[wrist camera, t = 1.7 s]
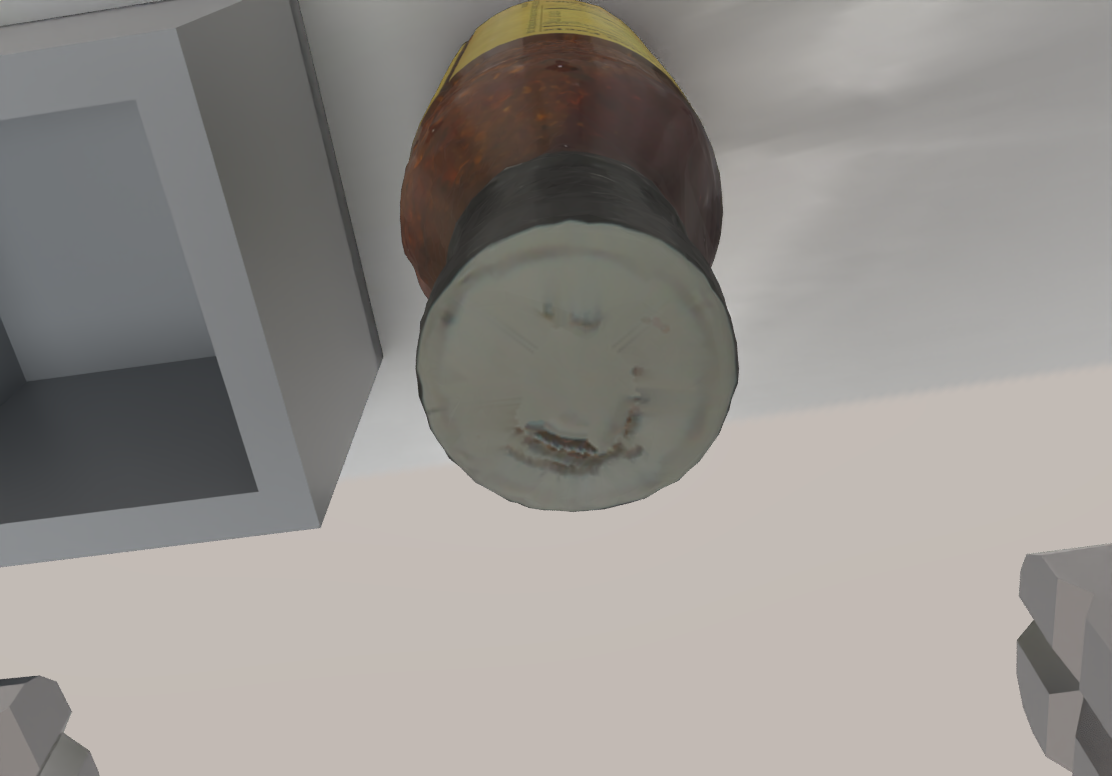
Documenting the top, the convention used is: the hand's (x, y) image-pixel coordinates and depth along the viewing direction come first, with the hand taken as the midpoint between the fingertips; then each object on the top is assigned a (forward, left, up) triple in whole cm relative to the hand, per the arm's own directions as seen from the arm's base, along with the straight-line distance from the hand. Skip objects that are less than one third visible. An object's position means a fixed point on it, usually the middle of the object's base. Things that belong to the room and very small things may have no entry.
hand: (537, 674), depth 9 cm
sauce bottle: (0, 0, -25) cm, 25 cm away
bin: (+13, +1, -25) cm, 28 cm away
